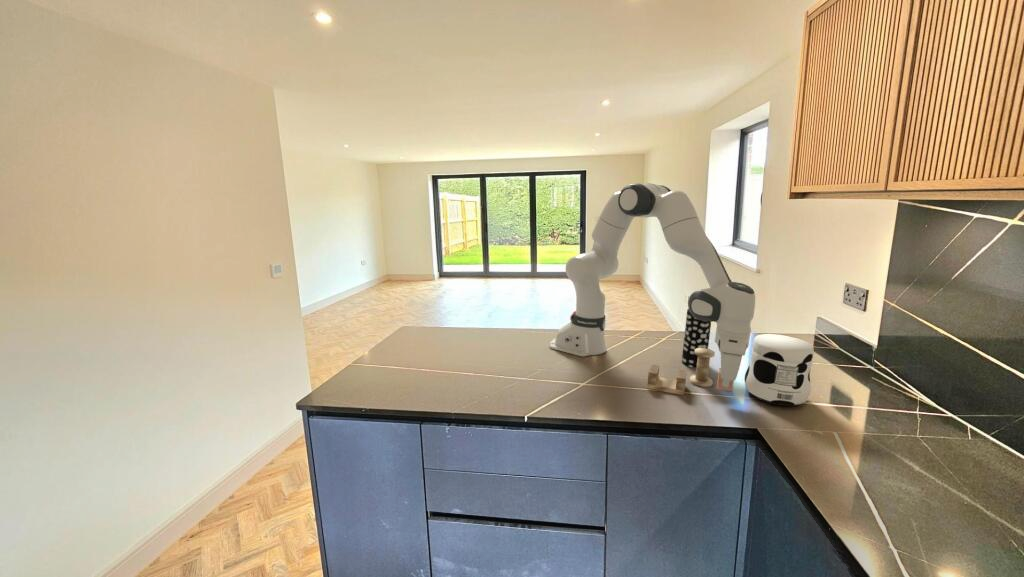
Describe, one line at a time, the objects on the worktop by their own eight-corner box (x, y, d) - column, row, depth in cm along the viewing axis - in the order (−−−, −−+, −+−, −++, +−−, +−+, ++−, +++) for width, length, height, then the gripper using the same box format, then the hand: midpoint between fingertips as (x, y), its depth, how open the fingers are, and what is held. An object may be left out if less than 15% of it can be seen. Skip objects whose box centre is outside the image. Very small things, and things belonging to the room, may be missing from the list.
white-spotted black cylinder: (702, 370, 152) (709, 316, 147) (678, 364, 157) (684, 311, 152) (708, 362, 158) (714, 310, 154) (685, 357, 163) (690, 307, 158)
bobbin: (688, 384, 140) (692, 353, 138) (690, 376, 147) (693, 346, 144) (712, 388, 138) (716, 356, 135) (712, 380, 144) (716, 349, 141)
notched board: (647, 388, 137) (648, 372, 136) (650, 379, 144) (651, 364, 142) (683, 395, 133) (685, 378, 132) (685, 386, 139) (686, 370, 138)
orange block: (716, 388, 127) (719, 372, 126) (717, 382, 130) (719, 367, 129) (731, 391, 125) (734, 375, 124) (731, 385, 129) (734, 370, 128)
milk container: (769, 381, 143) (777, 330, 139) (821, 405, 128) (832, 348, 124) (730, 389, 137) (737, 336, 133) (780, 415, 122) (790, 356, 117)
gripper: (720, 326, 134) (714, 366, 138) (720, 348, 117) (712, 393, 120) (742, 329, 132) (735, 370, 135) (746, 352, 114) (738, 399, 117)
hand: (725, 382), depth 127 cm, fingers closed on orange block, 4 cm apart
